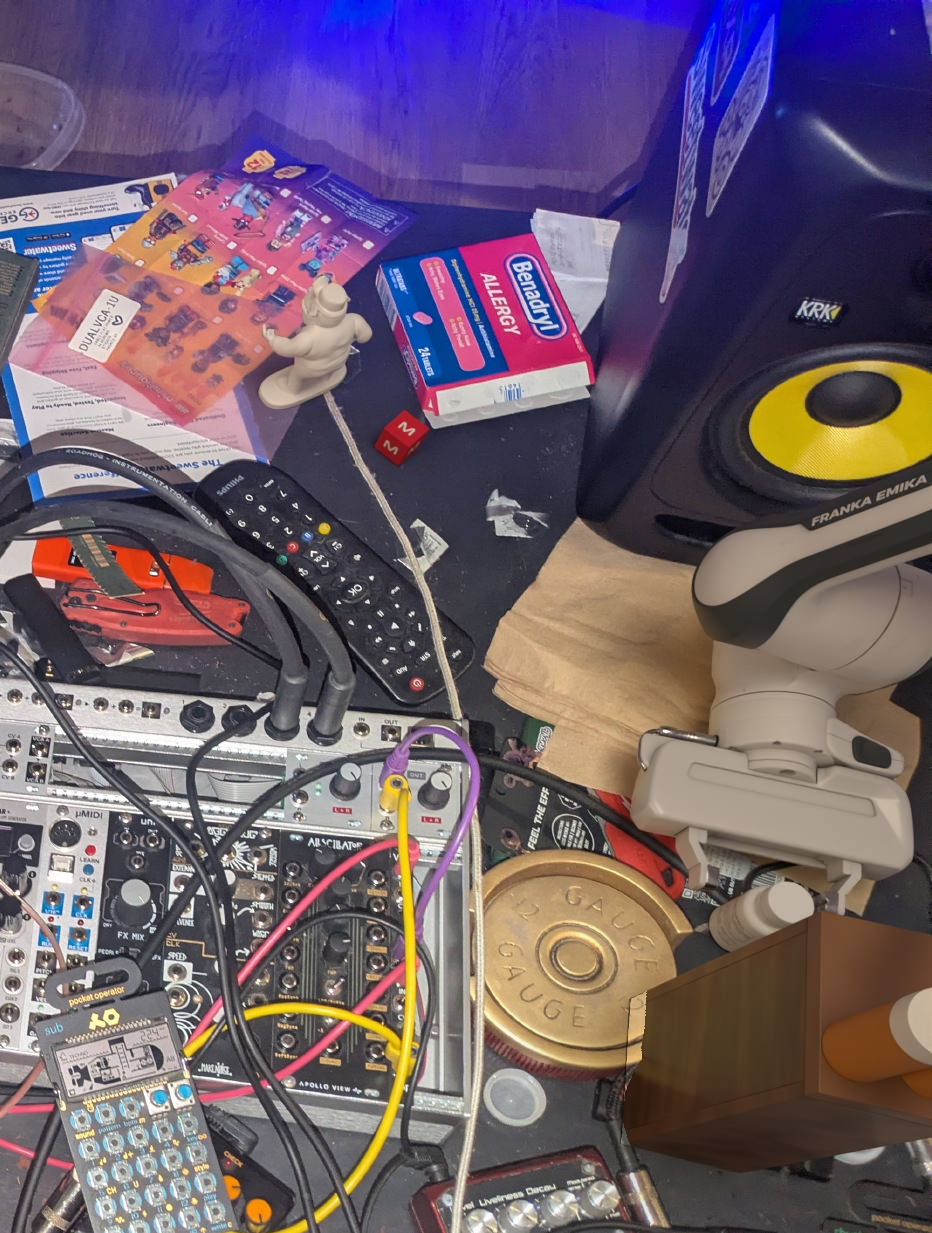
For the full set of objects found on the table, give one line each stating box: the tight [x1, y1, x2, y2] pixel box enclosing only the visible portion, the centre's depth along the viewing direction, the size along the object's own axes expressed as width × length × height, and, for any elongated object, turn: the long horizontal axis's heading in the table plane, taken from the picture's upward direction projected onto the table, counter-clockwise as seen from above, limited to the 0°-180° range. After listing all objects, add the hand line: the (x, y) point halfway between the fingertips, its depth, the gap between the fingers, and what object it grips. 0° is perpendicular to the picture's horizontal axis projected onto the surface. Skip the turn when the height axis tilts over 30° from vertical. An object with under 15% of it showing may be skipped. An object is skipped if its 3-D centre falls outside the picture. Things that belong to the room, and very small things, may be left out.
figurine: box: [257, 274, 373, 411], centre depth 128 cm, size 9×7×12 cm
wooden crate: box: [621, 917, 932, 1174], centre depth 97 cm, size 9×12×24 cm
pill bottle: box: [708, 881, 814, 953], centre depth 108 cm, size 4×4×8 cm
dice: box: [373, 409, 430, 467], centre depth 128 cm, size 3×3×3 cm
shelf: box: [804, 911, 932, 1126], centre depth 85 cm, size 9×12×2 cm
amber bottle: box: [822, 988, 932, 1083], centre depth 80 cm, size 4×4×8 cm
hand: (765, 903), depth 108 cm, fingers open, 8 cm apart
